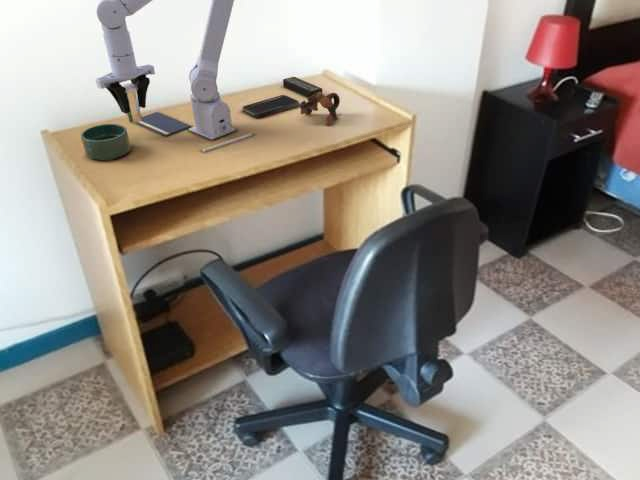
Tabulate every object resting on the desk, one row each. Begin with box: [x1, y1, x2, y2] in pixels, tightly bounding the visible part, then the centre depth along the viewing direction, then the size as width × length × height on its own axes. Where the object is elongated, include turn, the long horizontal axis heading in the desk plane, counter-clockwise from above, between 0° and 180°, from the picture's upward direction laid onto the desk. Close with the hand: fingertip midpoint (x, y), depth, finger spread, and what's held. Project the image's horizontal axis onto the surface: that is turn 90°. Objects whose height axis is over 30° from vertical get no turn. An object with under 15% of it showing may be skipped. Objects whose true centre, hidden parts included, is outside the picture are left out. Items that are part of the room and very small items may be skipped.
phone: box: [242, 94, 300, 119], centre depth 164 cm, size 8×1×15 cm
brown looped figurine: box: [298, 91, 341, 126], centre depth 158 cm, size 12×10×8 cm
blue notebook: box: [135, 111, 192, 137], centre depth 155 cm, size 15×8×1 cm, turn 51°
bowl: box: [80, 123, 132, 161], centre depth 139 cm, size 10×10×5 cm
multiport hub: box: [282, 76, 323, 99], centre depth 175 cm, size 4×14×2 cm, turn 42°
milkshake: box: [121, 81, 142, 124], centre depth 142 cm, size 4×5×10 cm
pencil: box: [202, 133, 254, 153], centre depth 146 cm, size 1×1×15 cm
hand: (133, 109), depth 144 cm, fingers closed on milkshake, 4 cm apart
